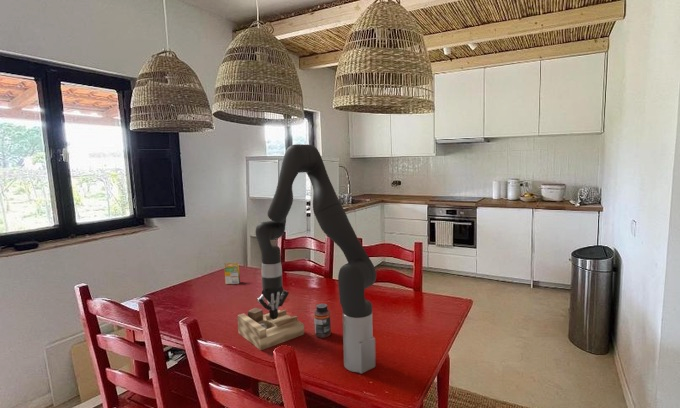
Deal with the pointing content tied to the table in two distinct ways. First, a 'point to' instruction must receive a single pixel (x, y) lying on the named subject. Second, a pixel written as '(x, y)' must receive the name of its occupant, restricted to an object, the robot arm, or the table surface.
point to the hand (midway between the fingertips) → (273, 318)
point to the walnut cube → (256, 314)
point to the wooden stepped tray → (270, 329)
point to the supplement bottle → (322, 321)
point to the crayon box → (232, 273)
